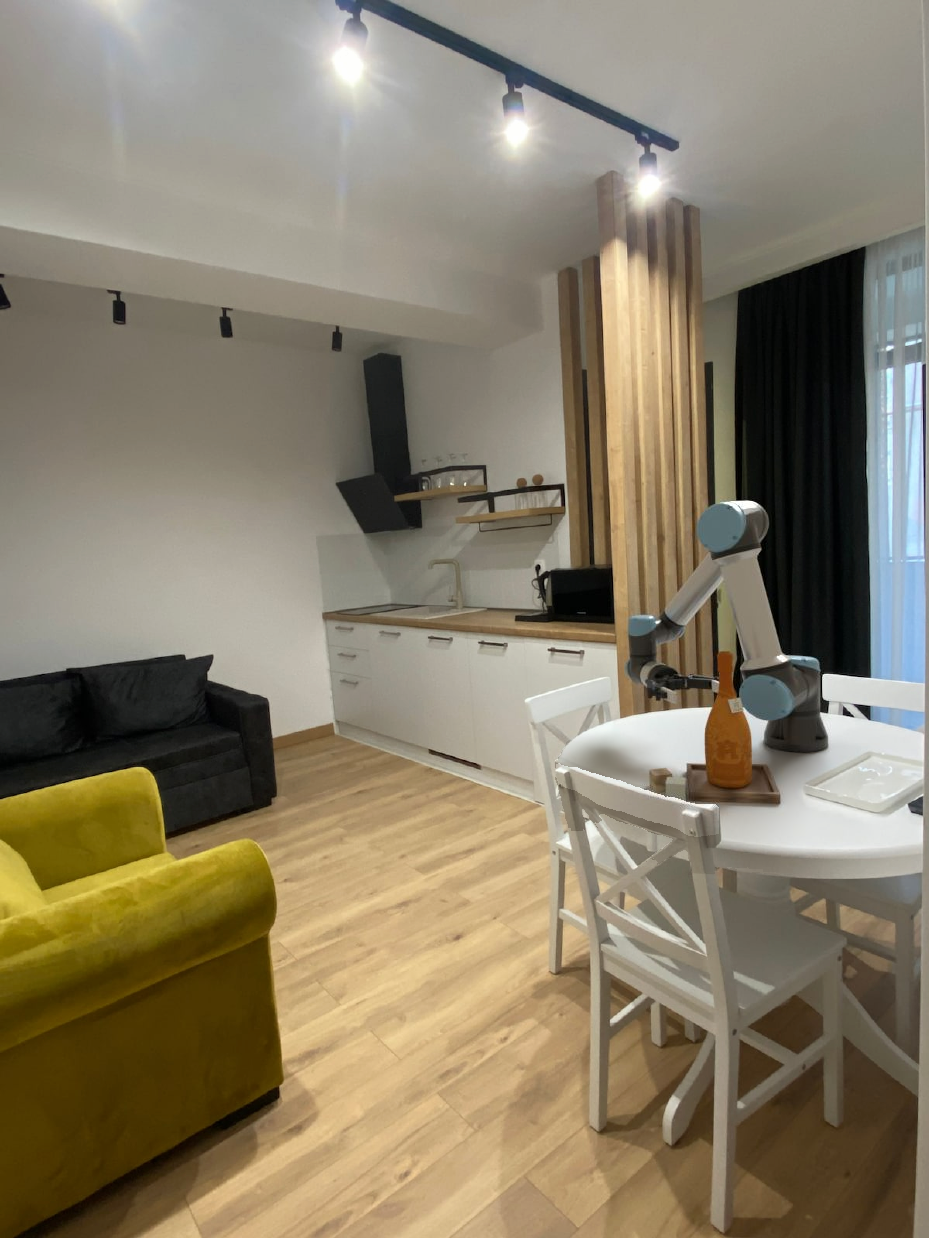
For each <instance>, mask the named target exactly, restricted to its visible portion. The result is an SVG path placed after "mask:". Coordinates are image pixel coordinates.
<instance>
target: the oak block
mask: <svg viewBox="0 0 929 1238" xmlns="http://www.w3.org/2000/svg"><path fill="white" fill-rule="evenodd" d="M648 772H649V774H648V775H649V776H648V777H649V786H650V788H651V789H652V790H653V791H654V792H655V793H662V792H666V780H667V777H674V776H673V773H672V772H671V771H670V770H669V769H668V768H666V767H663V768H653V769H652V768H651V769H648Z"/></svg>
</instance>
